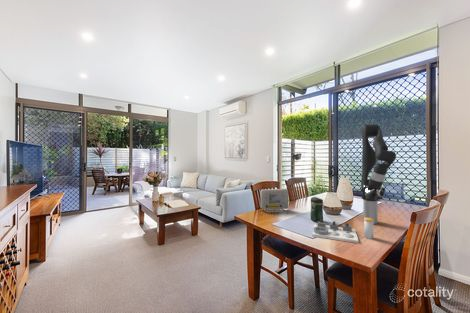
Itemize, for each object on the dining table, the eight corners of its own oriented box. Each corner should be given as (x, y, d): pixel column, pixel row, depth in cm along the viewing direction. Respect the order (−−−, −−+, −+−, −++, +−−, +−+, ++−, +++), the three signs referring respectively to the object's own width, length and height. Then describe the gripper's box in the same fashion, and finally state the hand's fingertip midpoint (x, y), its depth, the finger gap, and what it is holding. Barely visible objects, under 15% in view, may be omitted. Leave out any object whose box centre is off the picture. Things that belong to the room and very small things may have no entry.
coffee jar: (325, 222, 158) (325, 198, 158) (316, 223, 157) (315, 199, 156) (317, 218, 168) (317, 196, 167) (309, 219, 166) (308, 196, 166)
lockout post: (363, 235, 133) (363, 217, 133) (373, 236, 131) (373, 218, 131) (364, 238, 128) (364, 219, 128) (374, 239, 126) (374, 220, 126)
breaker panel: (314, 225, 151) (314, 217, 151) (354, 231, 140) (354, 221, 140) (312, 236, 133) (312, 226, 133) (358, 243, 122) (358, 232, 122)
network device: (286, 208, 197) (286, 188, 197) (289, 211, 188) (289, 190, 188) (260, 209, 195) (260, 189, 195) (262, 212, 187) (261, 190, 186)
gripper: (384, 177, 139) (376, 198, 144) (363, 175, 139) (356, 195, 145) (391, 182, 132) (383, 203, 137) (369, 180, 132) (361, 201, 138)
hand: (369, 199), depth 141 cm, fingers open, 8 cm apart
